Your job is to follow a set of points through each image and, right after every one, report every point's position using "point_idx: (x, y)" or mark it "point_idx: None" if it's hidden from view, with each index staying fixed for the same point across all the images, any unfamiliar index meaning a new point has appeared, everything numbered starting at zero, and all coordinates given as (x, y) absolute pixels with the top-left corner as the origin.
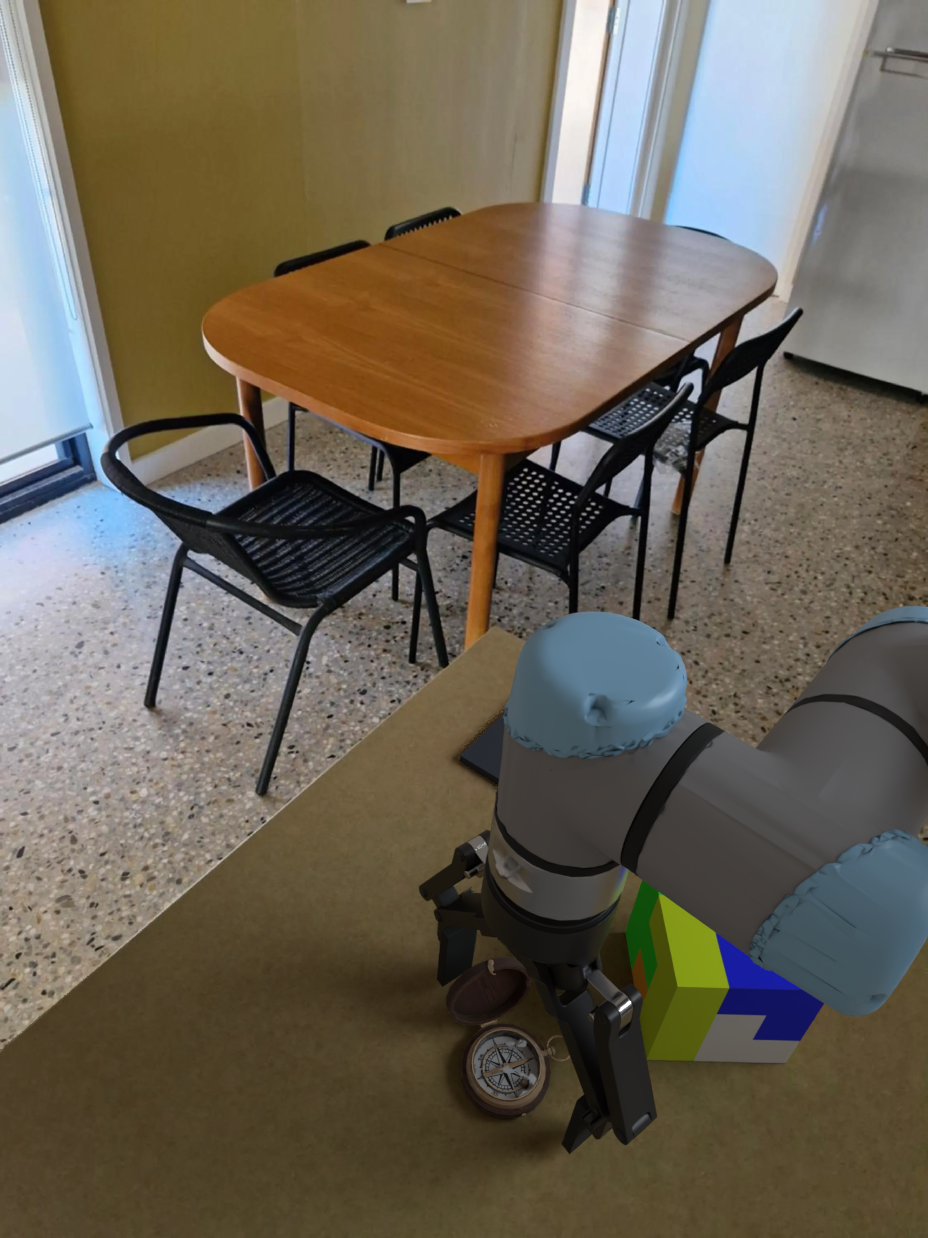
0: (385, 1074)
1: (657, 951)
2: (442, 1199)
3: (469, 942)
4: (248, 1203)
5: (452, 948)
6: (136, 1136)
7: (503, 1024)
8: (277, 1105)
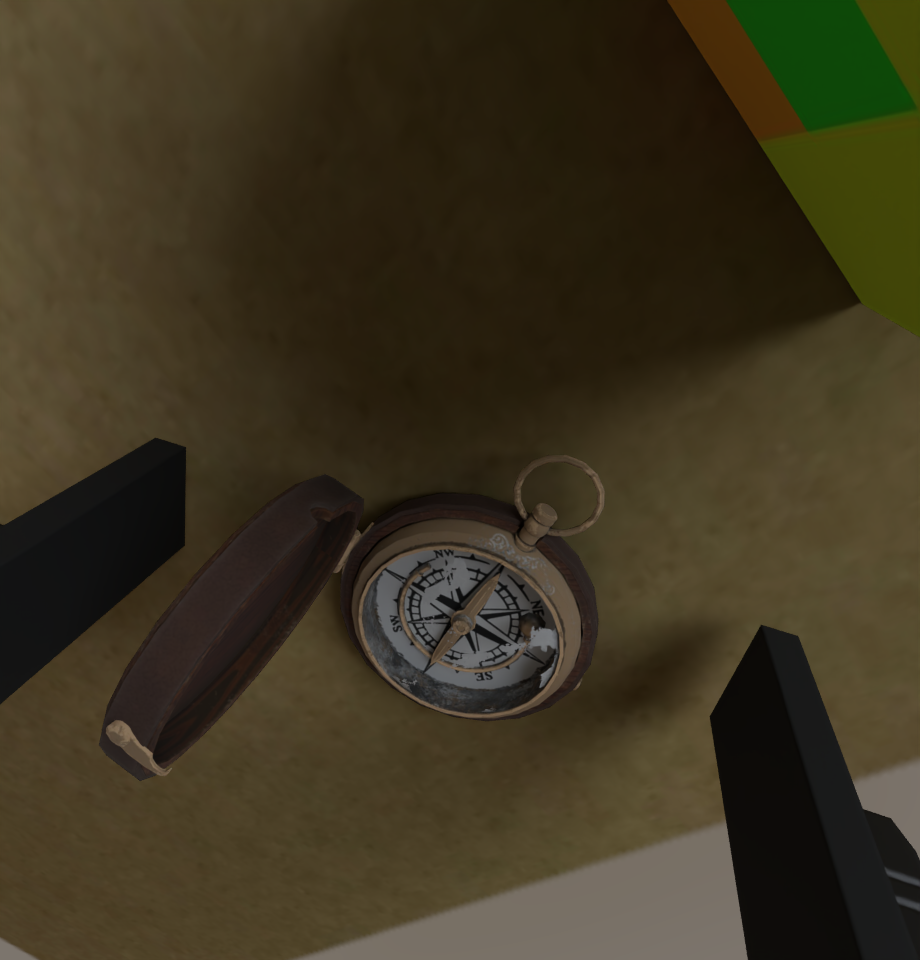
0: (274, 720)
1: (898, 5)
2: (529, 842)
3: (49, 566)
4: (289, 933)
5: (24, 657)
6: (114, 918)
7: (377, 530)
8: (195, 830)
